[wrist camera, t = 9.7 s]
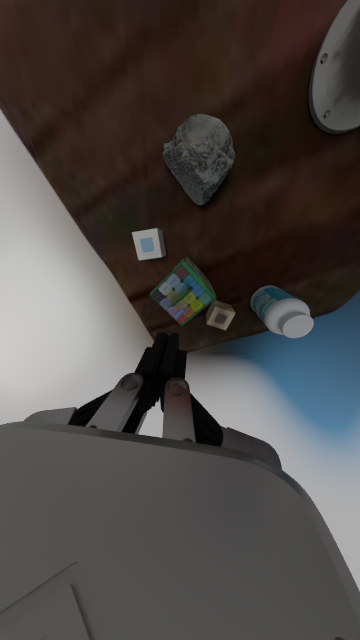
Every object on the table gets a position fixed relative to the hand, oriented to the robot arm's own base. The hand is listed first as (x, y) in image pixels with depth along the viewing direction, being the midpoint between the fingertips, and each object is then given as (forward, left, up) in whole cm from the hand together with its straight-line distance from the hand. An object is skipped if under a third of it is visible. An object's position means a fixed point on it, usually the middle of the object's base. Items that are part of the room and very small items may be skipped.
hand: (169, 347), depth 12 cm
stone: (-1, -19, -27) cm, 33 cm away
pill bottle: (-20, +4, -27) cm, 34 cm away
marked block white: (+8, -7, -27) cm, 29 cm away
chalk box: (0, +1, -27) cm, 27 cm away
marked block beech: (-9, +8, -27) cm, 30 cm away
